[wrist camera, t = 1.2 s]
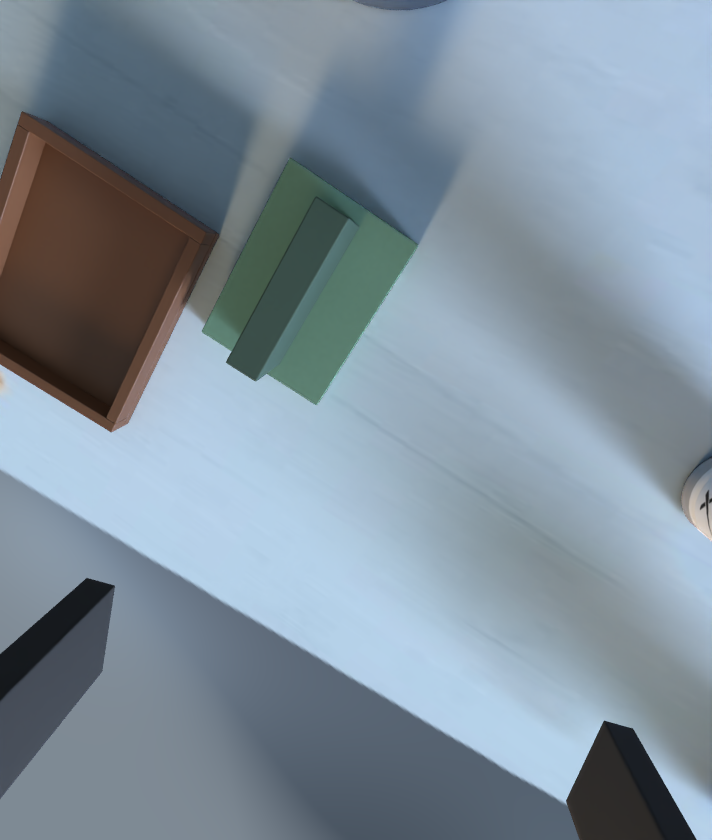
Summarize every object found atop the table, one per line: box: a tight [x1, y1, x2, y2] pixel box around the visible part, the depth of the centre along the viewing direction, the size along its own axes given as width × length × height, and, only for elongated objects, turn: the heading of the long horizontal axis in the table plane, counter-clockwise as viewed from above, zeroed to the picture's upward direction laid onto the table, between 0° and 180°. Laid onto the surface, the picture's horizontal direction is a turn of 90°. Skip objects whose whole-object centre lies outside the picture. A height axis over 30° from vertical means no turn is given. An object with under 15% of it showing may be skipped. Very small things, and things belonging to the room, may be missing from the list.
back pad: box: [202, 158, 418, 405], centre depth 28 cm, size 12×9×6 cm
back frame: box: [0, 111, 219, 432], centre depth 32 cm, size 16×13×2 cm
